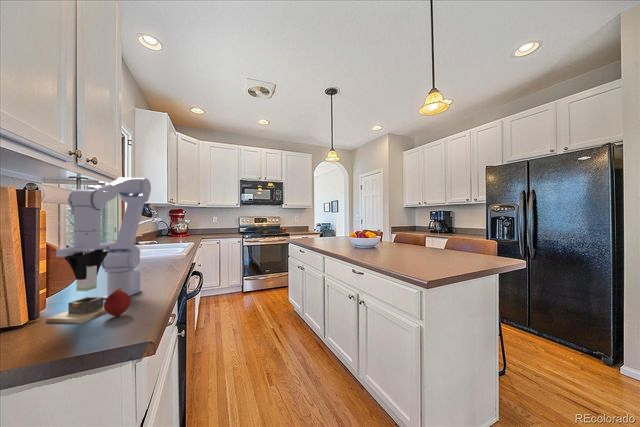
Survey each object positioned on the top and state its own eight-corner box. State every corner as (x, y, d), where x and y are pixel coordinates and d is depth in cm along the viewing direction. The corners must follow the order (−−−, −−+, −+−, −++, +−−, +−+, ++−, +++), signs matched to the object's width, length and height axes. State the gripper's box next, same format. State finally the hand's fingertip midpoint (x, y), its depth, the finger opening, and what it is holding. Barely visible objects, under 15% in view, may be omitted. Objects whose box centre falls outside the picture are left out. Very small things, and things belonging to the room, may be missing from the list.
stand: (90, 305, 78) (90, 293, 78) (120, 306, 77) (120, 293, 77) (46, 322, 66) (46, 307, 66) (81, 323, 65) (82, 308, 65)
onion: (115, 321, 66) (115, 292, 66) (98, 319, 67) (98, 290, 67) (135, 313, 72) (135, 285, 72) (119, 311, 73) (119, 284, 73)
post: (86, 287, 73) (87, 265, 73) (96, 288, 73) (96, 265, 73) (76, 290, 70) (76, 267, 70) (86, 291, 70) (86, 267, 70)
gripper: (97, 229, 79) (97, 271, 79) (45, 232, 65) (44, 284, 64) (119, 229, 79) (118, 272, 79) (71, 232, 64) (70, 285, 64)
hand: (86, 277), depth 72 cm, fingers closed on post, 3 cm apart
